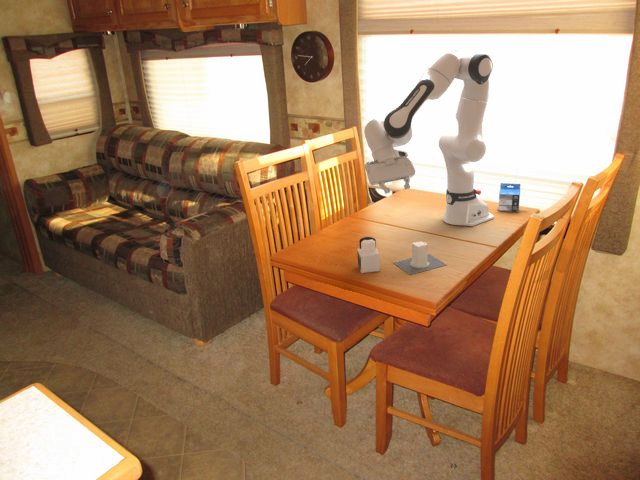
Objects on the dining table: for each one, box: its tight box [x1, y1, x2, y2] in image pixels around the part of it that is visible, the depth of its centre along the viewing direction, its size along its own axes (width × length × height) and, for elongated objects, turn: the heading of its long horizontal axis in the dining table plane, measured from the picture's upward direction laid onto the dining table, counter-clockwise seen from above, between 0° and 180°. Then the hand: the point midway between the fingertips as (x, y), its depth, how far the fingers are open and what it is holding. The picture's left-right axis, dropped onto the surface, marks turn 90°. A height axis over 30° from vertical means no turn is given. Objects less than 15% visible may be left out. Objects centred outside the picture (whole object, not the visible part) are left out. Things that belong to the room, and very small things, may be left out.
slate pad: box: [393, 253, 448, 275], centre depth 197 cm, size 16×12×1 cm
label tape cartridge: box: [497, 182, 521, 213], centre depth 242 cm, size 9×4×12 cm, turn 67°
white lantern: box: [356, 236, 381, 274], centre depth 195 cm, size 7×7×12 cm
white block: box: [411, 240, 428, 267], centre depth 196 cm, size 4×4×8 cm
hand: (398, 190), depth 204 cm, fingers open, 8 cm apart
